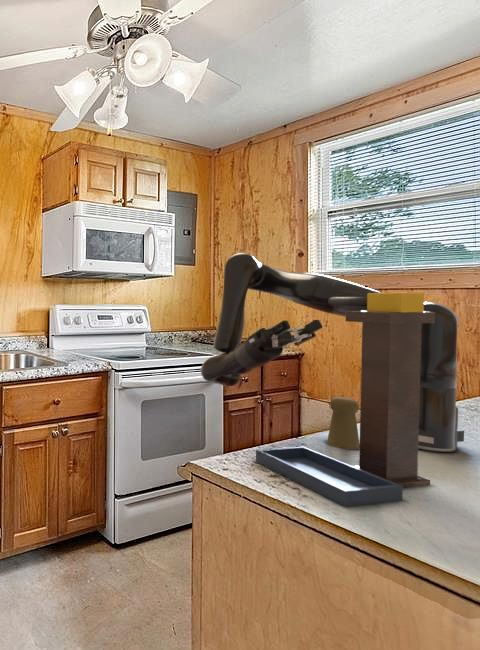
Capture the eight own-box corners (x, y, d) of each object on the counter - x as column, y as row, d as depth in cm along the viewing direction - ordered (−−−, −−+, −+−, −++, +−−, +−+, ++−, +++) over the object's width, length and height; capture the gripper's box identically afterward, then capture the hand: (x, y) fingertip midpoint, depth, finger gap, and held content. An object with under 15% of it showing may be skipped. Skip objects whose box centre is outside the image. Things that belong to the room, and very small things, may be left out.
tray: (302, 457, 92) (303, 446, 92) (402, 500, 73) (403, 486, 72) (255, 461, 90) (255, 449, 90) (345, 506, 71) (345, 491, 70)
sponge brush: (339, 309, 92) (339, 293, 92) (423, 312, 77) (424, 292, 77) (319, 309, 92) (319, 293, 92) (401, 312, 76) (401, 293, 76)
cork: (347, 440, 102) (348, 395, 102) (366, 449, 96) (368, 401, 96) (321, 439, 103) (322, 394, 103) (338, 448, 97) (339, 401, 97)
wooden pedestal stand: (384, 468, 86) (388, 310, 85) (430, 485, 78) (435, 312, 77) (342, 471, 84) (345, 311, 83) (385, 489, 76) (389, 312, 75)
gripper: (228, 338, 113) (270, 309, 99) (275, 337, 115) (323, 309, 101) (238, 365, 110) (283, 338, 95) (286, 363, 112) (337, 337, 98)
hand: (303, 323), depth 98 cm, fingers open, 8 cm apart
